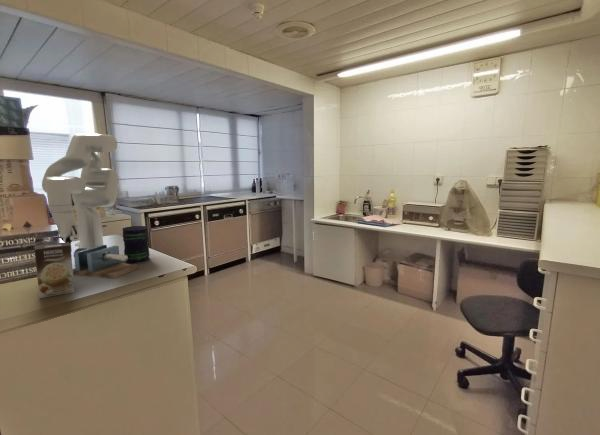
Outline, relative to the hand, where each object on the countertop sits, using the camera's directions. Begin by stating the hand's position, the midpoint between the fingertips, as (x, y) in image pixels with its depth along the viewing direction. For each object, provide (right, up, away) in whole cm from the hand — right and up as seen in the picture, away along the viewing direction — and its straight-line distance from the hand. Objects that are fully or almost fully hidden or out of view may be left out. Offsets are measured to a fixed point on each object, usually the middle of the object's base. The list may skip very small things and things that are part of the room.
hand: (66, 252), depth 122 cm
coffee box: (+17, -11, -25) cm, 31 cm away
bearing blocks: (+16, -5, -3) cm, 17 cm away
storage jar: (+24, -5, +10) cm, 26 cm away
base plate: (+19, -7, -4) cm, 20 cm away
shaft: (+18, -3, -4) cm, 18 cm away
